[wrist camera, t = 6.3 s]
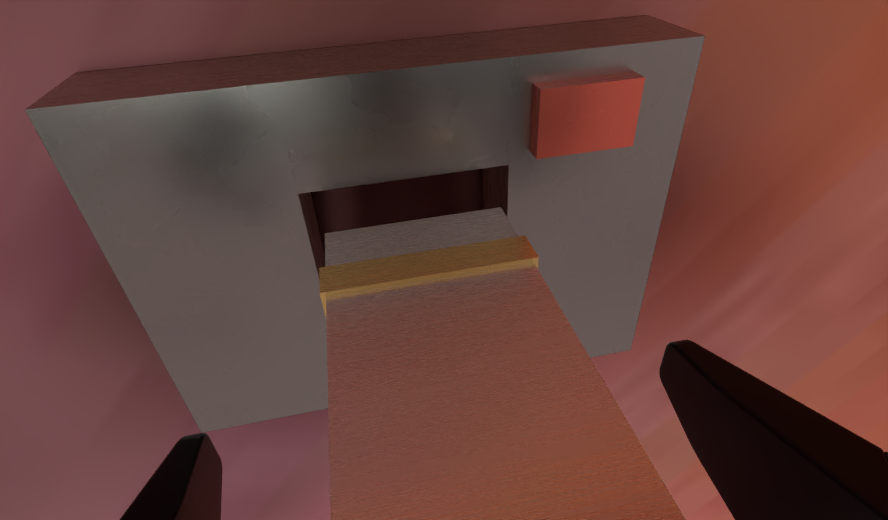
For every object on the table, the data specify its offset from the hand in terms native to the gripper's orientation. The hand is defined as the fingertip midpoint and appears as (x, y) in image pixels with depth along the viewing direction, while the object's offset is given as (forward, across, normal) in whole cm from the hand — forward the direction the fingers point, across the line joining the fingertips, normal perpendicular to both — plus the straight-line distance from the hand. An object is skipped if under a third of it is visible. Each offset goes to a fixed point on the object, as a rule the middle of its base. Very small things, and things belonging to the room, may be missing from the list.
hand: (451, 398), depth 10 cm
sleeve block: (+7, 0, 0) cm, 7 cm away
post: (+4, 0, 0) cm, 4 cm away
